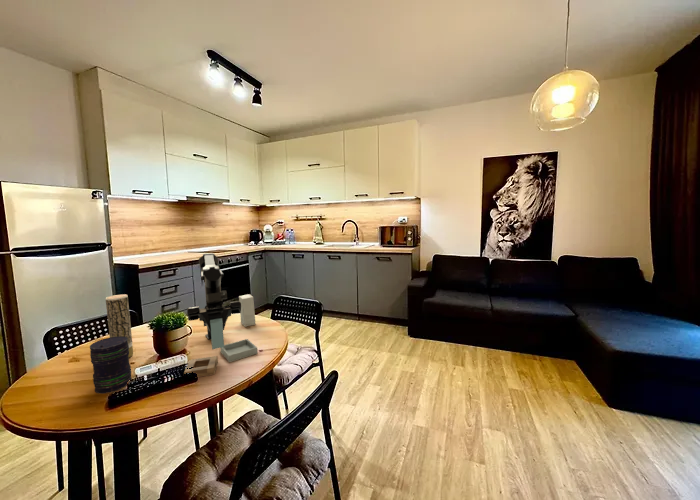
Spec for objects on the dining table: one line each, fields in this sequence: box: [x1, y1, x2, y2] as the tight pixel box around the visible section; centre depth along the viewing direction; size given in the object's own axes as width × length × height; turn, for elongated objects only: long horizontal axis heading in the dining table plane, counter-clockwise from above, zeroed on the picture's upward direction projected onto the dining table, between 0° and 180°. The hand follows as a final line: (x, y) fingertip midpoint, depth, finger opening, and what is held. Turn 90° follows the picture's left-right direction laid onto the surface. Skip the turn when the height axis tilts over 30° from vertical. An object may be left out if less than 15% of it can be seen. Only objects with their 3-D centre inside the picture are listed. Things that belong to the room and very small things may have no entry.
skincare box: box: [238, 293, 256, 328], centre depth 152 cm, size 8×6×15 cm
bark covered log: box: [105, 293, 134, 358], centre depth 115 cm, size 7×7×25 cm
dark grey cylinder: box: [89, 336, 133, 395], centre depth 96 cm, size 10×10×15 cm
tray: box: [219, 338, 258, 363], centre depth 119 cm, size 11×11×3 cm
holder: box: [183, 355, 219, 378], centre depth 106 cm, size 9×9×2 cm
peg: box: [210, 318, 225, 350], centre depth 109 cm, size 4×4×10 cm
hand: (217, 330), depth 108 cm, fingers closed on peg, 4 cm apart
